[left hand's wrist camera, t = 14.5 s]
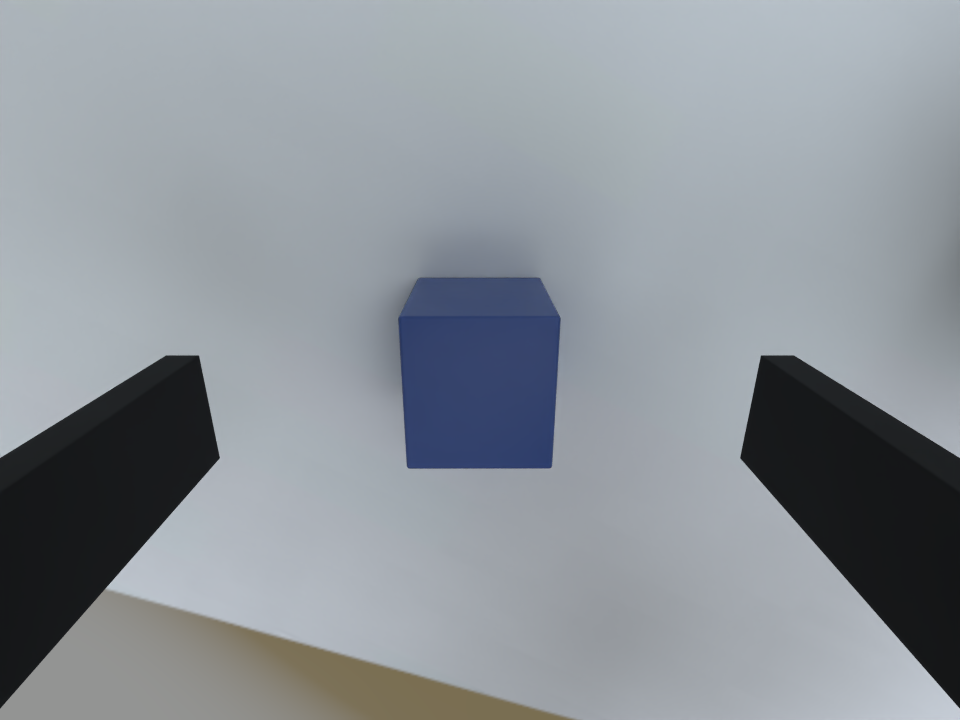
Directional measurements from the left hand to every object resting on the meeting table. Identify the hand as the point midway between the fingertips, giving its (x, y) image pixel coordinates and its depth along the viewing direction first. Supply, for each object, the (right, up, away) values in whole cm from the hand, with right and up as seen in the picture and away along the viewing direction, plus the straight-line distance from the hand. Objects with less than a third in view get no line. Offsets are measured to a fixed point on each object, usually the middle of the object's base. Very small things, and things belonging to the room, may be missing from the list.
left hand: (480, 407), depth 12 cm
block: (0, +2, +6) cm, 6 cm away
